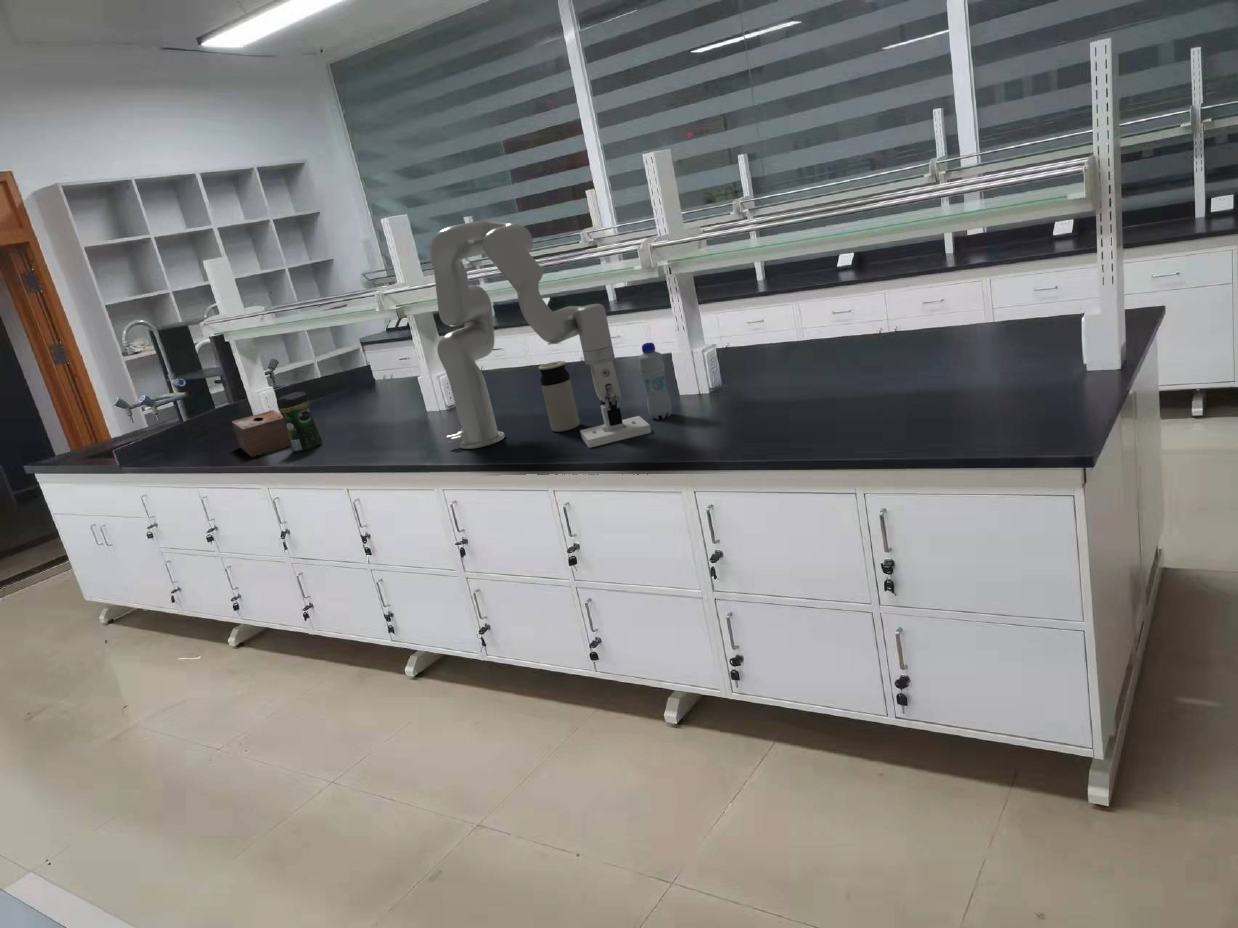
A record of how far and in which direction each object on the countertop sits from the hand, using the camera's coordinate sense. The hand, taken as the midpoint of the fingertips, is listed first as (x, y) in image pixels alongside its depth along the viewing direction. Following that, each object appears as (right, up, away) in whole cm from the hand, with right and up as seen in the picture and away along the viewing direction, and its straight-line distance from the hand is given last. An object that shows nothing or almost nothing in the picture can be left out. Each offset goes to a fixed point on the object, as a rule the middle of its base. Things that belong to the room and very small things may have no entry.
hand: (612, 420), depth 223 cm
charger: (+1, -4, +1) cm, 4 cm away
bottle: (+13, +1, +10) cm, 16 cm away
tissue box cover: (-121, -5, +85) cm, 148 cm away
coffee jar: (-101, -6, +66) cm, 120 cm away
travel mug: (-13, -1, +20) cm, 24 cm away
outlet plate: (+1, -4, +1) cm, 4 cm away
